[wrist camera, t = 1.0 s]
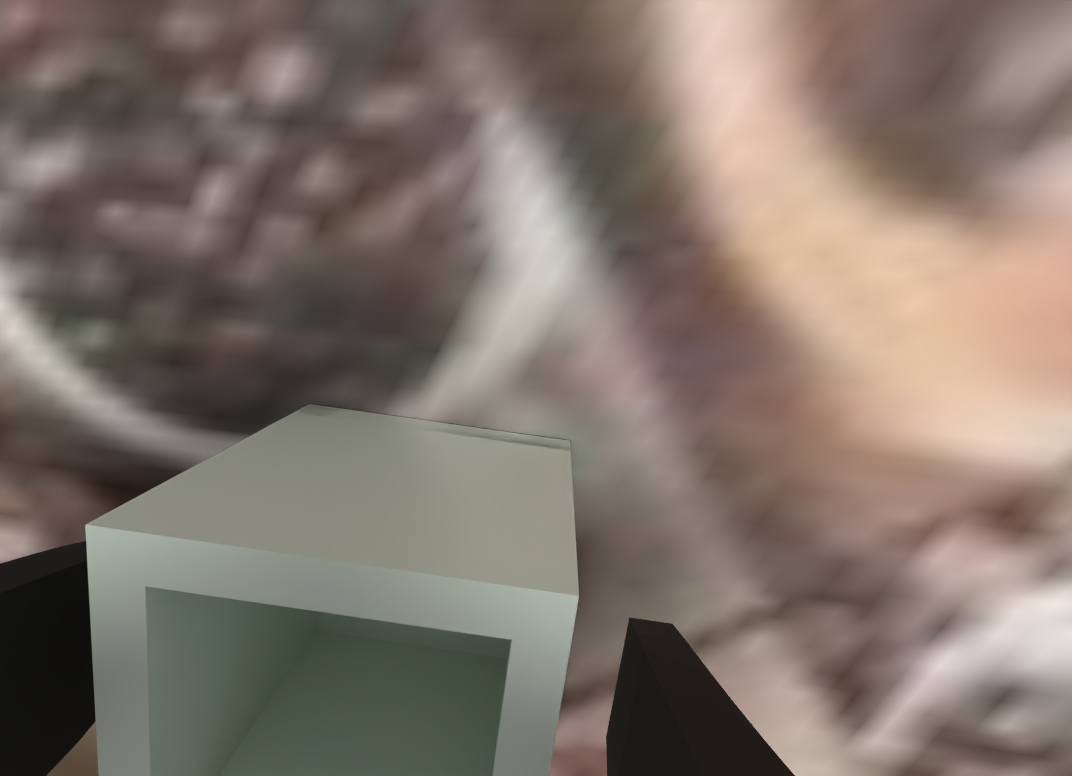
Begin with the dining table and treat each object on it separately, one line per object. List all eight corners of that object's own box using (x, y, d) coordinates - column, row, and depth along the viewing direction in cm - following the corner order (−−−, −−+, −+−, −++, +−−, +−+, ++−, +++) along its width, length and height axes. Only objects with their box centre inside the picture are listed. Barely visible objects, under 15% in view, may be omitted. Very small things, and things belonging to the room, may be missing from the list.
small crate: (535, 667, 11) (516, 966, 6) (299, 632, 11) (105, 903, 7) (570, 440, 10) (579, 596, 5) (309, 404, 10) (84, 524, 5)
